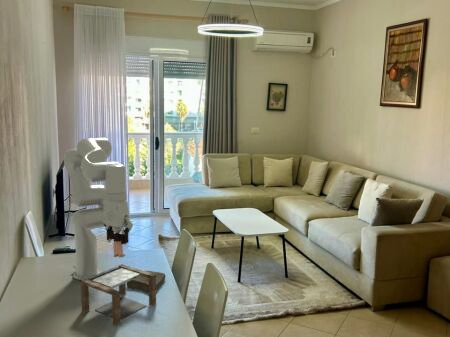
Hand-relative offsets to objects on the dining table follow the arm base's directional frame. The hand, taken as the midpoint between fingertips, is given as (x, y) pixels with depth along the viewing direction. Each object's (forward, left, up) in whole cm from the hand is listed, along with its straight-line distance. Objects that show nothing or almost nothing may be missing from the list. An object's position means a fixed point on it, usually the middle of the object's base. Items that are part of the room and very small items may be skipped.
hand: (117, 241), depth 166 cm
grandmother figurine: (0, 0, -6) cm, 6 cm away
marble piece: (-7, +22, -28) cm, 36 cm away
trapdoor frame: (0, 0, -27) cm, 27 cm away
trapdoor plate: (-3, 0, -16) cm, 16 cm away
